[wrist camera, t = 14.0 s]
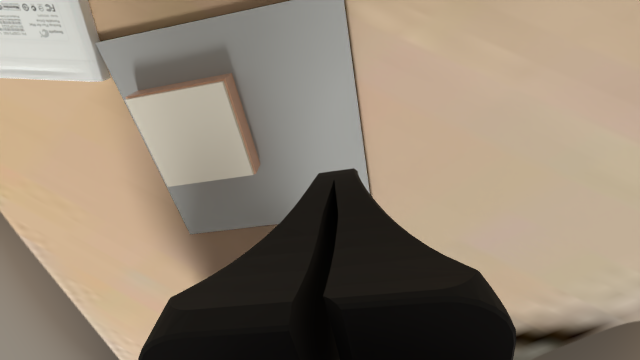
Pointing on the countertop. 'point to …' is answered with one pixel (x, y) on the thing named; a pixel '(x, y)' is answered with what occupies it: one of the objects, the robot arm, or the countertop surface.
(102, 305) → the countertop surface
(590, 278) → the countertop surface
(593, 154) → the countertop surface
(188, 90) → the tile
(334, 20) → the mat
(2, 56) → the external hard drive
